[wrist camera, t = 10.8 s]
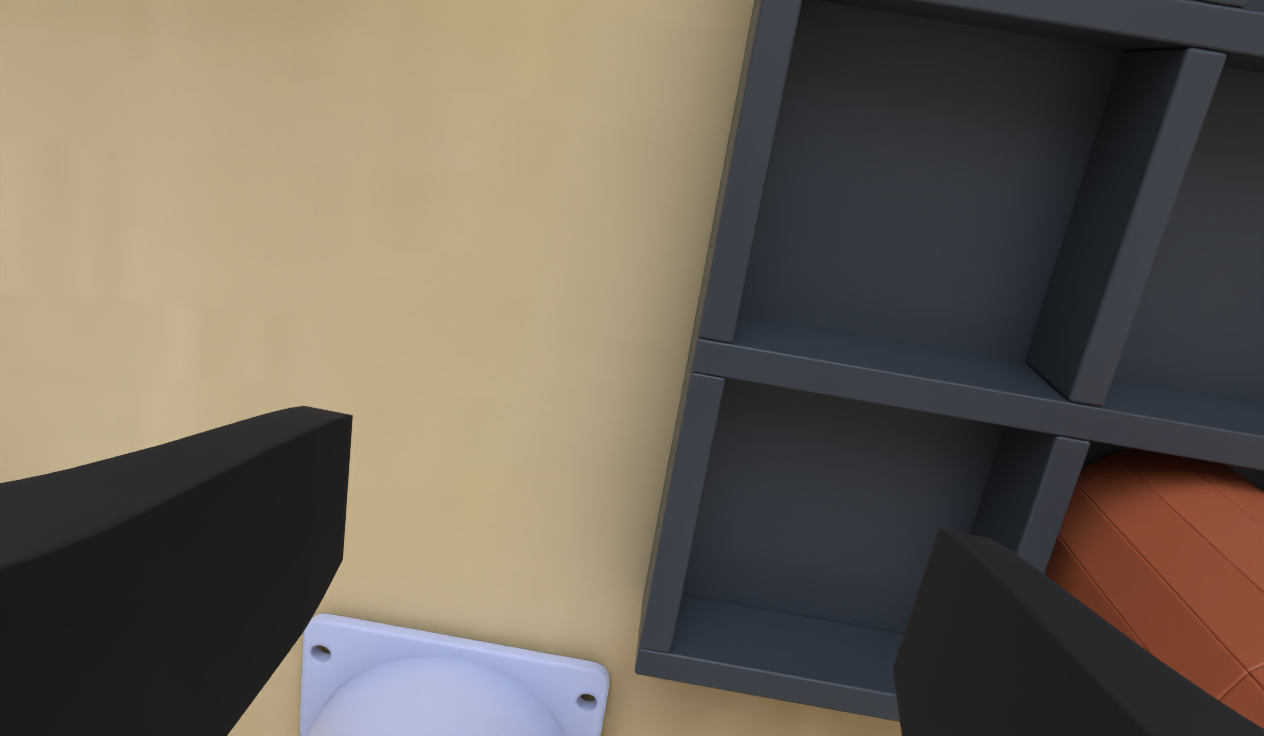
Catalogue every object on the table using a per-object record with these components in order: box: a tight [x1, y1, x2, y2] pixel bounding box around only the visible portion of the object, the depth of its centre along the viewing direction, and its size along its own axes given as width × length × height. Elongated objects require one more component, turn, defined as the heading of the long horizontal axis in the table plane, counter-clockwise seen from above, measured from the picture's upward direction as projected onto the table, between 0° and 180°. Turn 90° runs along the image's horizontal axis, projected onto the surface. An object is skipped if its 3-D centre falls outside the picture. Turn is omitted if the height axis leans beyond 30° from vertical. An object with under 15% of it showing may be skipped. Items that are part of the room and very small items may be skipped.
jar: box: [1045, 448, 1264, 729], centre depth 16 cm, size 5×5×9 cm
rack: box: [635, 0, 1264, 722], centre depth 17 cm, size 22×15×3 cm
